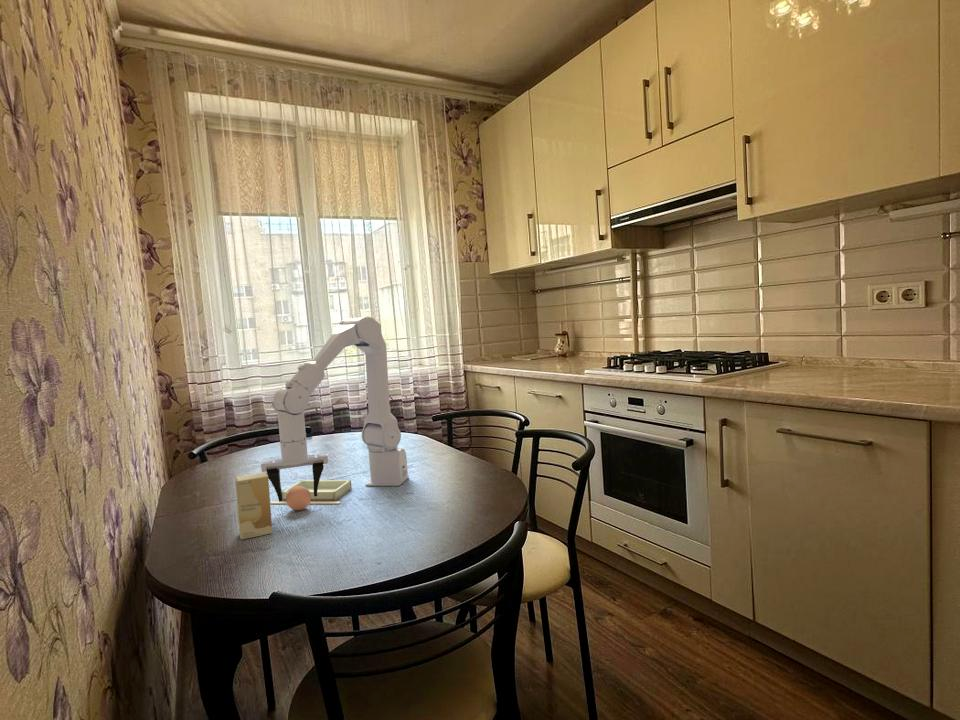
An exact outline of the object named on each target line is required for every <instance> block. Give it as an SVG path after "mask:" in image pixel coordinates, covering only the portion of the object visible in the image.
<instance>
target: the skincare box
mask: <svg viewBox="0 0 960 720" xmlns="http://www.w3.org/2000/svg"><path fill="white" fill-rule="evenodd" d="M234 478H235V491H236V504H237V517H238V519H237V520H238V521H237V522H238V531H239V538H240V540H246V539H250V538H255V537H261V536H265V535H269V534H270V533H271V534H273V525H272V511H271V504H270V502H271V498H270V497H271V496H270V494H271V493H270V485H269V484H270V483H269V482H270V480H269V478H268V474H267V472H258V473H251V474H250V473H249V474H245V475H238V476H235V477H234Z"/></svg>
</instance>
